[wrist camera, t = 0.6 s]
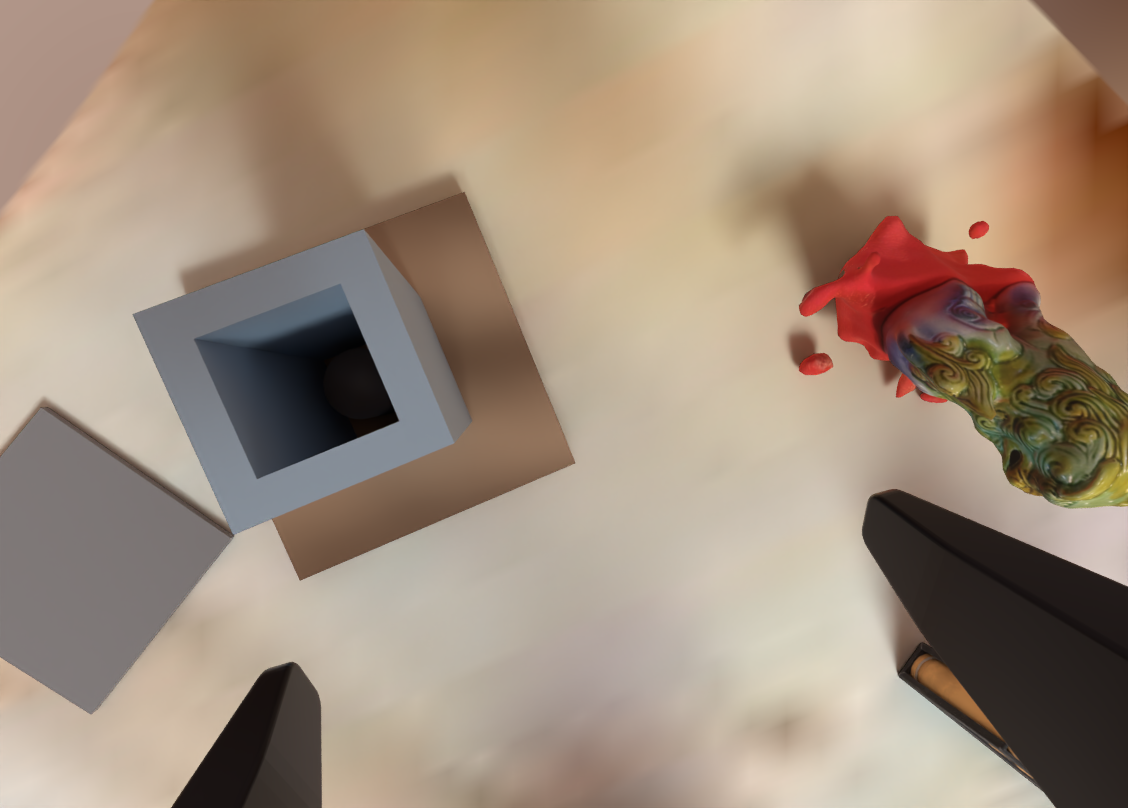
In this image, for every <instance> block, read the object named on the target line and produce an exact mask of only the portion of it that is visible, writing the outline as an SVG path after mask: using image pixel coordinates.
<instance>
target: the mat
mask: <svg viewBox="0 0 1128 808" xmlns="http://www.w3.org/2000/svg"><path fill="white" fill-rule="evenodd" d="M233 537H234V536H233V535H232V534H230V533H229V532H227V531H226V530H224V529H223V528H222V527H220V526H219V525H217V524H216V523H214V522H213V521H211V520H210V519H209V518H207V517H206V516H204V515H203V514H201V513H200V512H198V511H197V510H195V509H194V508H193V507H191V506H190V505H188V504H187V503H185V502H184V501H182V500H181V499H180V498H178V497H177V496H175V495H174V494H172V493H171V492H169V491H168V490H167V489H165V488H164V487H162V486H161V485H159V484H158V483H156V482H155V481H153V480H152V479H151V478H149V477H148V476H146V475H145V474H143V473H142V472H140V471H139V470H138V469H136V468H135V467H133V466H132V465H130V464H129V463H127V462H126V461H125V460H123V459H122V458H120V457H119V456H117V455H116V454H114V453H113V452H112V451H110V450H109V449H107V448H106V447H104V446H103V445H101V444H100V443H98V442H97V441H96V440H94V439H93V438H91V437H90V436H88V435H87V434H85V433H84V432H83V431H81V430H80V429H78V428H77V427H75V426H74V425H72V424H71V423H70V422H68V421H67V420H65V419H64V418H62V417H61V416H59V415H58V414H56V413H55V412H54V411H52V410H51V409H49V408H48V407H43V408H40V409H39V411H38V412H37V413H36V414H35V415H34V417H33V418H32V419H31V420H30V421H29V423H28V424H27V425H26V426H25V428H24V429H23V430H22V431H21V432H20V434H19V435H18V436H17V437H16V438H15V440H14V441H13V442H12V443H11V445H10V446H9V447H8V448H7V449H6V451H5V452H4V453H3V454H2V455H1V457H0V657H1V658H2V659H4V660H6V661H7V662H9V663H10V664H12V665H13V666H15V667H17V668H18V669H20V670H21V671H23V672H25V673H26V674H28V675H29V676H31V677H32V678H34V679H36V680H37V681H39V682H40V683H42V684H44V685H45V686H47V687H48V688H50V689H51V690H53V691H55V692H56V693H58V694H59V695H61V696H63V697H64V698H66V699H67V700H69V701H70V702H72V703H74V704H75V705H77V706H78V707H80V708H82V709H83V710H85V711H86V712H88V713H89V714H92V713H94V712H95V711H96V710H97V709H98V708H99V706H100V705H101V704H102V703H103V701H104V700H105V699H106V698H107V696H108V695H109V694H110V693H111V691H112V690H113V689H114V687H115V686H116V685H117V684H118V682H119V681H120V680H121V679H122V677H123V676H124V675H125V674H126V672H127V671H128V670H129V669H130V667H131V666H132V665H133V663H134V662H135V661H136V660H137V658H138V657H139V656H140V655H141V653H142V652H143V651H144V650H145V648H146V647H147V646H148V645H149V643H150V642H151V641H152V640H153V638H154V637H155V636H156V634H157V633H158V632H159V631H160V629H161V628H162V627H163V626H164V624H165V623H166V622H167V621H168V619H169V618H170V617H171V616H172V614H173V613H174V612H175V610H176V609H177V608H178V607H179V605H180V604H181V603H182V602H183V600H184V599H185V598H186V597H187V595H188V594H189V593H190V592H191V590H192V589H193V588H194V586H195V585H196V584H197V583H198V581H199V580H200V579H201V578H202V576H203V575H204V574H205V573H206V571H207V570H208V569H209V568H210V566H211V565H212V564H213V562H214V561H215V560H216V559H217V557H218V556H219V555H220V554H221V552H222V551H223V550H224V549H225V547H226V546H227V545H228V544H229V542H230V541H231V540H232V539H233Z"/></svg>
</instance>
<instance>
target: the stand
mask: <svg viewBox="0 0 1128 808" xmlns="http://www.w3.org/2000/svg"><path fill="white" fill-rule="evenodd" d="M364 230H365V231H366V232H367V233H368V235H369V236H370V237H371V238H372V239H373V241H374V242H375V243H376V244H377V246H378V247H379V248H380V249H381V250H382V252H383V253H384V254H385V255H386V256H387V258H388V259H389V260H390V261H391V262H392V264H393V265H394V266H395V267H396V268H397V270H398V271H399V272H400V273H401V274H402V276H403V277H404V278H405V279H406V280H407V282H408V283H409V284H410V285H411V286H412V288H413V289H414V290H415V291H416V292H417V294H418V295H419V296H420V298H421V300H422V302H423V305H424V307H425V310H426V312H427V314H428V317H429V319H430V321H431V324H432V326H433V329H434V331H435V333H436V336H437V338H438V341H439V343H440V345H441V348H442V350H443V352H444V355H445V357H446V360H447V362H448V364H449V367H450V369H451V371H452V374H453V376H454V379H455V381H456V383H457V386H458V388H459V391H460V393H461V395H462V398H463V400H464V402H465V405H466V407H467V410H468V412H469V414H470V417H471V419H472V422H471V423H470V425H469V426H468V427H467V428H466V430H465V431H464V432H463V433H462V435H461V436H460V437H459V438H458V439H457V441H456V442H455V443H454V444H451V445H449V446H447V447H444V448H442V449H439V450H437V451H435V452H432V453H430V454H427V455H425V456H422V457H420V458H418V459H415V460H413V461H410V462H408V463H406V464H403V465H401V466H398V467H396V468H393V469H391V470H389V471H386V472H384V473H381V474H379V475H377V476H374V477H372V478H369V479H367V480H364V481H362V482H360V483H357V484H355V485H352V486H350V487H348V488H345V489H343V490H340V491H338V492H336V493H333V494H331V495H328V496H326V497H323V498H321V499H319V500H316V501H314V502H311V503H309V504H307V505H304V506H302V507H299V508H297V509H294V510H292V511H290V512H287V513H285V514H282V515H280V516H278V517H275V518H273V519H272V520H273V522H274V524H275V526H276V529H277V531H278V533H279V535H280V538H281V540H282V542H283V544H284V546H285V549H286V551H287V553H288V555H289V557H290V560H291V562H292V564H293V566H294V569H295V571H296V573H297V575H298V577H299V580H303V579H305V578H307V577H310V576H312V575H314V574H317V573H319V572H321V571H324V570H326V569H328V568H331V567H333V566H335V565H338V564H340V563H342V562H345V561H347V560H349V559H352V558H354V557H356V556H359V555H361V554H363V553H366V552H368V551H370V550H373V549H375V548H378V547H380V546H382V545H385V544H387V543H389V542H392V541H394V540H396V539H399V538H401V537H403V536H406V535H408V534H410V533H413V532H415V531H417V530H420V529H422V528H424V527H427V526H429V525H431V524H434V523H436V522H438V521H441V520H443V519H445V518H448V517H450V516H452V515H455V514H457V513H459V512H462V511H464V510H466V509H469V508H471V507H474V506H476V505H478V504H481V503H483V502H485V501H488V500H490V499H492V498H495V497H497V496H499V495H502V494H504V493H506V492H509V491H511V490H513V489H516V488H518V487H520V486H523V485H525V484H527V483H530V482H532V481H534V480H537V479H539V478H541V477H544V476H546V475H548V474H551V473H553V472H555V471H558V470H560V469H563V468H565V467H567V466H570V465H572V464H574V463H575V461H574V458H573V456H572V454H571V451H570V449H569V446H568V444H567V441H566V439H565V436H564V434H563V432H562V429H561V427H560V424H559V422H558V419H557V417H556V414H555V412H554V410H553V407H552V405H551V402H550V400H549V397H548V395H547V392H546V390H545V388H544V385H543V383H542V380H541V378H540V375H539V373H538V370H537V368H536V366H535V363H534V361H533V358H532V356H531V353H530V351H529V348H528V346H527V344H526V341H525V339H524V336H523V334H522V331H521V329H520V326H519V324H518V322H517V319H516V317H515V314H514V312H513V309H512V307H511V304H510V302H509V300H508V297H507V295H506V292H505V290H504V287H503V285H502V282H501V280H500V278H499V275H498V273H497V270H496V268H495V265H494V263H493V261H492V258H491V256H490V253H489V251H488V248H487V246H486V243H485V241H484V239H483V236H482V234H481V231H480V229H479V226H478V224H477V221H476V219H475V217H474V214H473V212H472V209H471V207H470V204H469V202H468V199H467V197H466V195H465V192H463V193H460V194H458V195H455V196H452V197H449V198H447V199H444V200H441V201H439V202H436V203H433V204H431V205H428V206H425V207H422V208H420V209H417V210H414V211H412V212H409V213H406V214H403V215H401V216H398V217H395V218H393V219H390V220H387V221H385V222H382V223H379V224H376V225H374V226H371V227H368V228H366V229H364ZM324 362H325V365H326V367H327V369H326V371H325V374H324V379H323V388H324V393H325V396H326V398H327V400H328V402H329V403H330V405H331V406H332V407H333V408H334V409H335V410H336V411H337V412H339V413H340V414H342V415H344V416H346V417H348V418H349V420H350V422H351V424H352V427H353V429H354V431H355V434H356V436H357V438H360V437H362V436H365V435H367V434H370V433H372V432H374V431H377V430H379V429H382V428H384V427H387V426H389V425H392V424H394V423H397V422H399V419H398V416H397V414H396V412H395V409H394V407H393V405H392V402H391V400H390V398H389V395H388V393H387V391H386V388H385V386H384V384H383V381H382V379H381V377H380V374H379V372H378V370H377V367H376V365H375V363H374V360H373V358H372V356H371V353H370V351H369V349H368V346H367V344H365V345H363V346H360V347H358V348H354V349H349V350H346V351H344V352H342V353H340V354H339V355H337V356H335V357H332V358H329V359H327V360H324Z"/></svg>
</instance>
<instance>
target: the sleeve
mask: <svg viewBox="0 0 1128 808" xmlns="http://www.w3.org/2000/svg"><path fill="white" fill-rule="evenodd" d="M133 317H134V319H135V321H136V323H137V325H138V328H139V330H140V332H141V334H142V336H143V338H144V341H145V343H146V345H147V347H148V349H149V352H150V354H151V356H152V358H153V360H154V363H155V365H156V367H157V369H158V371H159V374H160V376H161V378H162V380H163V382H164V384H165V387H166V389H167V391H168V393H169V395H170V398H171V400H172V402H173V404H174V406H175V409H176V411H177V413H178V415H179V417H180V420H181V422H182V424H183V426H184V428H185V430H186V433H187V435H188V437H189V439H190V441H191V444H192V446H193V448H194V450H195V452H196V455H197V457H198V459H199V461H200V463H201V466H202V468H203V470H204V472H205V474H206V476H207V479H208V481H209V483H210V485H211V487H212V490H213V492H214V494H215V496H216V498H217V501H218V503H219V505H220V507H221V509H222V511H223V514H224V516H225V518H226V520H227V522H228V525H229V527H230V529H231V531H232V533H233V535H234V534H236V533H239V532H241V531H244V530H246V529H249V528H251V527H253V526H256V525H258V524H261V523H263V522H265V521H268V520H270V519H273V518H275V517H278V516H280V515H282V514H285V513H287V512H290V511H292V510H294V509H297V508H299V507H302V506H304V505H307V504H309V503H311V502H314V501H316V500H319V499H321V498H323V497H326V496H328V495H331V494H333V493H336V492H338V491H340V490H343V489H345V488H348V487H350V486H352V485H355V484H357V483H360V482H362V481H364V480H367V479H369V478H372V477H374V476H377V475H379V474H381V473H384V472H386V471H389V470H391V469H393V468H396V467H398V466H401V465H403V464H406V463H408V462H410V461H413V460H415V459H418V458H420V457H422V456H425V455H427V454H430V453H432V452H435V451H437V450H439V449H442V448H444V447H447V446H449V445H451V444H454V443H455V442H456V441H457V439H458V438H459V437H460V436H461V435H462V433H463V432H464V431H465V430H466V428H467V427H468V426H469V425H470V423H471V422H472V419H471V417H470V414H469V412H468V410H467V407H466V405H465V402H464V400H463V398H462V395H461V393H460V391H459V388H458V386H457V383H456V381H455V379H454V376H453V374H452V371H451V369H450V367H449V364H448V362H447V360H446V357H445V355H444V352H443V350H442V348H441V345H440V343H439V341H438V338H437V336H436V333H435V331H434V329H433V326H432V324H431V321H430V319H429V317H428V314H427V312H426V310H425V307H424V305H423V302H422V300H421V298H420V296H419V295H418V294H417V292H416V291H415V290H414V289H413V288H412V286H411V285H410V284H409V283H408V282H407V280H406V279H405V278H404V277H403V276H402V274H401V273H400V272H399V271H398V270H397V268H396V267H395V266H394V265H393V264H392V262H391V261H390V260H389V259H388V258H387V256H386V255H385V254H384V253H383V252H382V250H381V249H380V248H379V247H378V246H377V244H376V243H375V242H374V241H373V239H372V238H371V237H370V236H369V235H368V233H367V232H366V231H365V230H364V229H362V230H360V231H357V232H354V233H351V234H349V235H346V236H343V237H341V238H338V239H335V240H333V241H330V242H327V243H324V244H322V245H319V246H316V247H314V248H311V249H308V250H305V251H303V252H300V253H297V254H295V255H292V256H289V257H287V258H284V259H281V260H278V261H276V262H273V263H270V264H268V265H265V266H262V267H259V268H257V269H254V270H251V271H249V272H246V273H243V274H240V275H238V276H235V277H232V278H230V279H227V280H224V281H222V282H219V283H216V284H213V285H211V286H208V287H205V288H203V289H200V290H197V291H194V292H192V293H189V294H186V295H184V296H181V297H178V298H175V299H173V300H170V301H167V302H165V303H162V304H159V305H157V306H154V307H151V308H148V309H146V310H143V311H140V312H138V313H135V314H133ZM365 344H367V346H368V349H369V351H370V353H371V356H372V358H373V360H374V363H375V365H376V367H377V370H378V372H379V374H380V377H381V379H382V381H383V384H384V386H385V388H386V391H387V393H388V395H389V398H390V400H391V402H392V405H393V407H394V409H395V412H396V414H397V416H398V419H399V422H397V423H394V424H392V425H389V426H387V427H384V428H382V429H379V430H377V431H374V432H372V433H370V434H367V435H365V436H362V437H360V438H357V436H356V434H355V431H354V429H353V427H352V424H351V422H350V420H349V418H348V417H346V416H344V415H342V414H340V413H339V412H337V411H336V410H335V409H334V408H333V407H332V406H331V405H330V403H329V402H328V400H327V398H326V396H325V393H324V388H323V379H324V374H325V371H326V369H327V367H326V365H325V362H324V360H327V359H329V358H332V357H335V356H337V355H339V354H340V353H342V352H344V351H346V350H349V349H354V348H358V347H360V346H363V345H365Z"/></svg>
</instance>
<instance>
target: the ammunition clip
mask: <svg viewBox="0 0 1128 808" xmlns="http://www.w3.org/2000/svg"><path fill="white" fill-rule="evenodd" d="M899 677H900V678H901V679H902V680H903V681H905V682H906V683H907V684H908V685H910V686H911V687H912V688H913V689H915V690H916V691H917V692H918V693H920V694H921V695H922V696H923V697H925V698H926V699H927V700H928V701H930V702H931V703H932V704H934V705H935V706H936V707H937V708H939V709H940V710H941V711H942V712H944V713H945V714H946V715H947V716H949V717H950V718H951V719H952V720H954V721H955V722H956V723H957V724H959V725H960V726H961V727H962V728H964V729H965V730H966V731H968V732H969V733H970V734H971V735H973V736H974V737H975V738H976V739H978V740H979V741H980V742H981V743H983V744H984V745H985V746H986V747H988V748H989V749H990V750H991V751H993V752H994V753H995V754H996V755H998V756H999V757H1000V758H1002V759H1003V760H1004V761H1005V762H1007V763H1008V764H1009V765H1010V766H1012V767H1013V768H1014V769H1015V770H1017V771H1018V772H1019V773H1020V774H1022V775H1023V776H1024V777H1025V778H1027V779H1028V780H1029V781H1030V782H1032V783H1033V784H1034V785H1035V786H1037V787H1038V788H1039V789H1041V788H1040V787H1039V785H1038V784H1037V783H1036V781H1035V780H1034V779H1033V777H1032V776H1031V775H1030V774H1029V772H1028V771H1027V770H1026V768H1025V767H1024V766H1023V764H1022V763H1021V762H1020V761H1019V759H1018V758H1017V757H1016V755H1015V754H1014V753H1013V751H1012V750H1011V749H1010V748H1009V746H1008V745H1007V744H1006V742H1005V741H1004V740H1003V738H1002V737H1001V736H1000V735H999V733H998V732H997V731H996V729H995V728H994V727H993V725H992V724H991V723H990V722H989V720H988V719H987V718H986V716H985V715H984V714H983V712H982V711H981V710H980V709H979V707H978V706H977V705H976V703H975V702H974V701H973V699H972V698H971V697H970V696H969V694H968V693H967V692H966V690H965V689H964V688H963V686H962V685H961V684H960V683H959V681H958V680H957V679H956V677H955V676H954V675H953V673H952V672H951V671H950V670H949V668H948V667H947V666H946V664H945V663H944V662H943V660H942V659H941V658H940V657H939V655H938V654H937V653H936V651H935V650H934V649H933V648H932V647H930V646H928V645H927V644H925V643H921V644H920V646H919V647H918V648H917V650H916V651H915V652H914V654H913V655H912V657H911V658H910V659H909V661H908V662H907V663H906V665H905V666H904V668H903V669H902V670H901V672H900V673H899ZM1041 790H1042V789H1041ZM1042 791H1043V790H1042Z"/></svg>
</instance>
